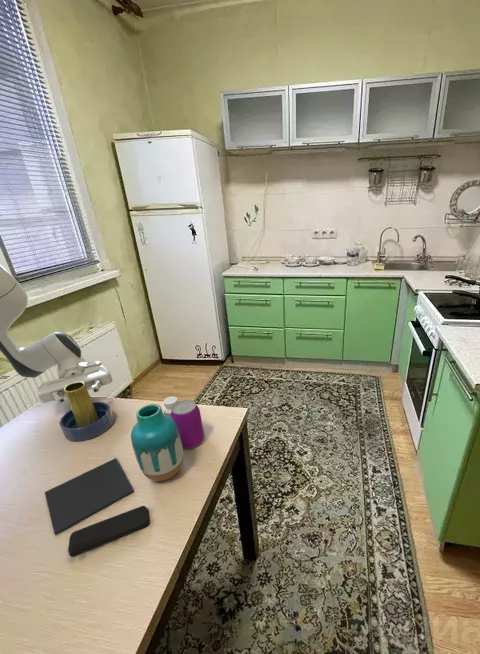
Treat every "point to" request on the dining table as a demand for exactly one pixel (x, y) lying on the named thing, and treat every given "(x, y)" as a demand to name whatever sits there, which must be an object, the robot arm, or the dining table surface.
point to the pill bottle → (169, 405)
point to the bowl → (91, 430)
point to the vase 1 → (81, 404)
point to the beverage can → (188, 423)
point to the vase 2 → (156, 443)
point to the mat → (86, 495)
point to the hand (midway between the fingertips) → (78, 395)
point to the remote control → (108, 530)
